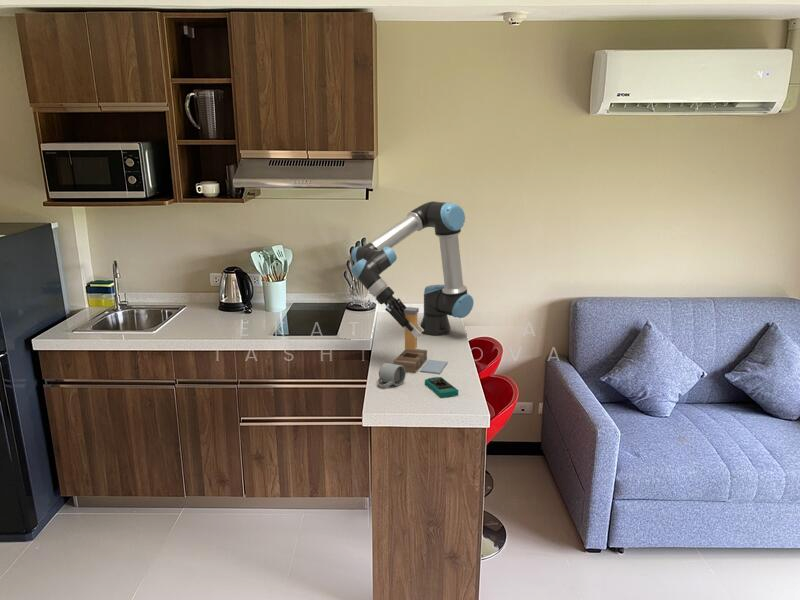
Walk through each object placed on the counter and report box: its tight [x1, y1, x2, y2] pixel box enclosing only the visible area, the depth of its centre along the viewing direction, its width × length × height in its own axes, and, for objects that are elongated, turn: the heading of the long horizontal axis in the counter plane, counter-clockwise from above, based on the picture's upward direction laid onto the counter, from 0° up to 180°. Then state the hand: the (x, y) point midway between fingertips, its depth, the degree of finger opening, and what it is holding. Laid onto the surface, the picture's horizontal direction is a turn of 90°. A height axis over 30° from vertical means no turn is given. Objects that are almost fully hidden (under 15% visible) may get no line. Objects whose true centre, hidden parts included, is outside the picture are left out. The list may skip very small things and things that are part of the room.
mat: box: [419, 359, 449, 375], centre depth 245 cm, size 14×8×1 cm, turn 162°
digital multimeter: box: [424, 376, 459, 399], centre depth 222 cm, size 7×15×3 cm, turn 22°
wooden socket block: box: [393, 348, 428, 374], centre depth 248 cm, size 18×9×4 cm, turn 163°
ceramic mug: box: [376, 363, 407, 389], centre depth 226 cm, size 11×8×8 cm
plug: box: [404, 306, 420, 350], centre depth 244 cm, size 5×5×17 cm
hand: (420, 334), depth 244 cm, fingers closed on plug, 4 cm apart
